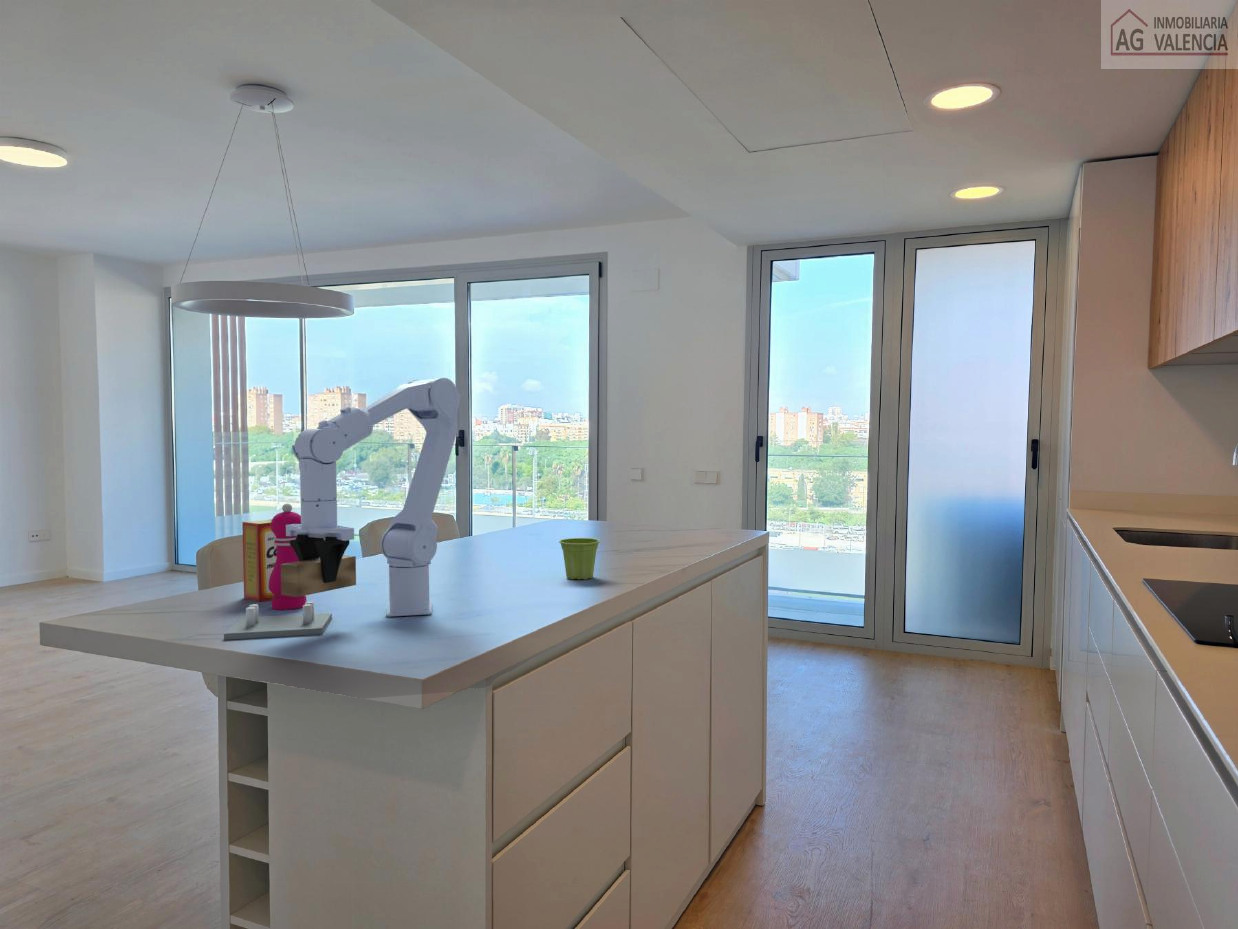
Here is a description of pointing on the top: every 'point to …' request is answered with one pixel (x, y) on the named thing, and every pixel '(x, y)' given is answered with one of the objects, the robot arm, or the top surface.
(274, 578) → the pepper mill
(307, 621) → the peg stand
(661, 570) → the top surface
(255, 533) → the food box
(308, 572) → the walnut plank
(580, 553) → the plant pot
